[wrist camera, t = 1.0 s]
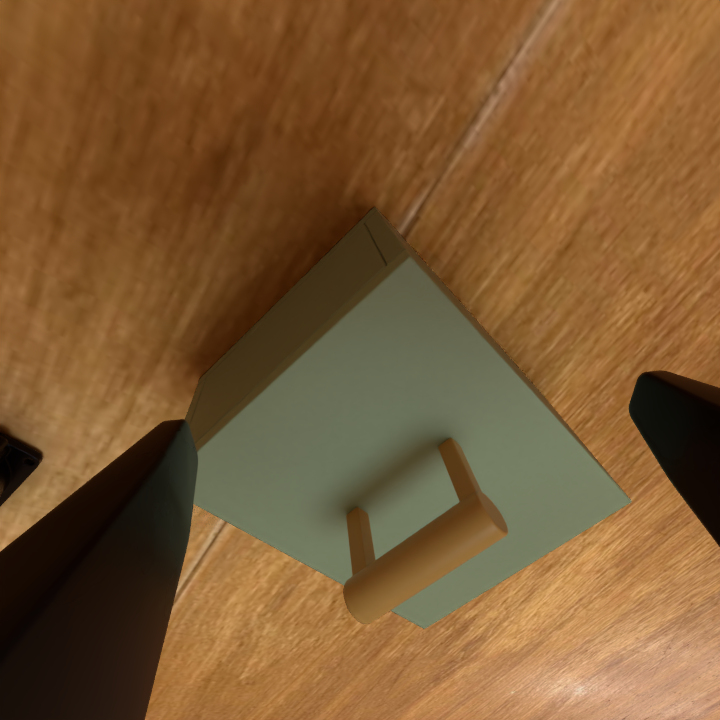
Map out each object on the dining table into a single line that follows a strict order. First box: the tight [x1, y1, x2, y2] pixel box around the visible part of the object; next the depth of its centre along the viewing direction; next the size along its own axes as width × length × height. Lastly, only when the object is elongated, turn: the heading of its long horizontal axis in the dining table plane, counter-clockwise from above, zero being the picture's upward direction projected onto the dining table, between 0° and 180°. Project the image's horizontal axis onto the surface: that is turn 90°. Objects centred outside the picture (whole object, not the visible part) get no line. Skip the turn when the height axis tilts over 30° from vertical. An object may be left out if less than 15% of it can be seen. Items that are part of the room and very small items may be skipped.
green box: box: [185, 207, 612, 478], centre depth 22 cm, size 16×13×7 cm
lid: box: [193, 250, 631, 629], centre depth 17 cm, size 16×13×5 cm
